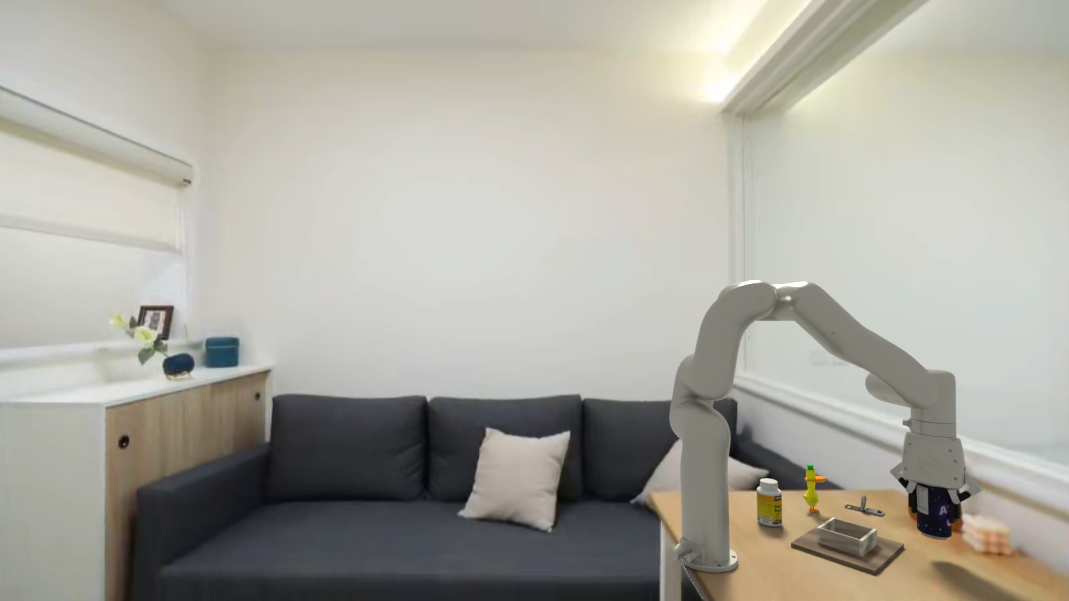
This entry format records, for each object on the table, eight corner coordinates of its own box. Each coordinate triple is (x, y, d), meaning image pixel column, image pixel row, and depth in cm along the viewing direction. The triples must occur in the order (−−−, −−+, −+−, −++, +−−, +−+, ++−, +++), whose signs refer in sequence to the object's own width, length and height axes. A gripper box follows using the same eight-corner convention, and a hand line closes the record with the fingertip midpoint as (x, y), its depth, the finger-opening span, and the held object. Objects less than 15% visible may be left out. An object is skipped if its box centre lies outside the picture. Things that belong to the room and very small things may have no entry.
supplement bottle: (777, 529, 119) (776, 486, 119) (753, 523, 123) (752, 480, 123) (786, 523, 122) (784, 480, 123) (762, 516, 126) (761, 475, 127)
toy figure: (822, 508, 132) (821, 462, 132) (831, 513, 128) (830, 465, 128) (798, 509, 131) (796, 462, 132) (806, 514, 128) (805, 466, 128)
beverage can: (943, 543, 101) (942, 483, 101) (911, 532, 106) (910, 475, 106) (957, 538, 103) (956, 479, 104) (925, 528, 108) (925, 472, 109)
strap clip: (885, 515, 128) (884, 498, 128) (882, 518, 125) (881, 501, 126) (847, 505, 134) (846, 489, 134) (843, 508, 132) (843, 492, 132)
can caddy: (875, 575, 98) (874, 554, 98) (790, 546, 110) (790, 528, 110) (904, 547, 109) (903, 528, 109) (824, 524, 121) (824, 507, 121)
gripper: (879, 424, 109) (879, 507, 109) (983, 439, 96) (984, 535, 95) (890, 420, 114) (891, 500, 114) (991, 434, 101) (992, 525, 100)
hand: (933, 515), depth 105 cm, fingers closed on beverage can, 5 cm apart
